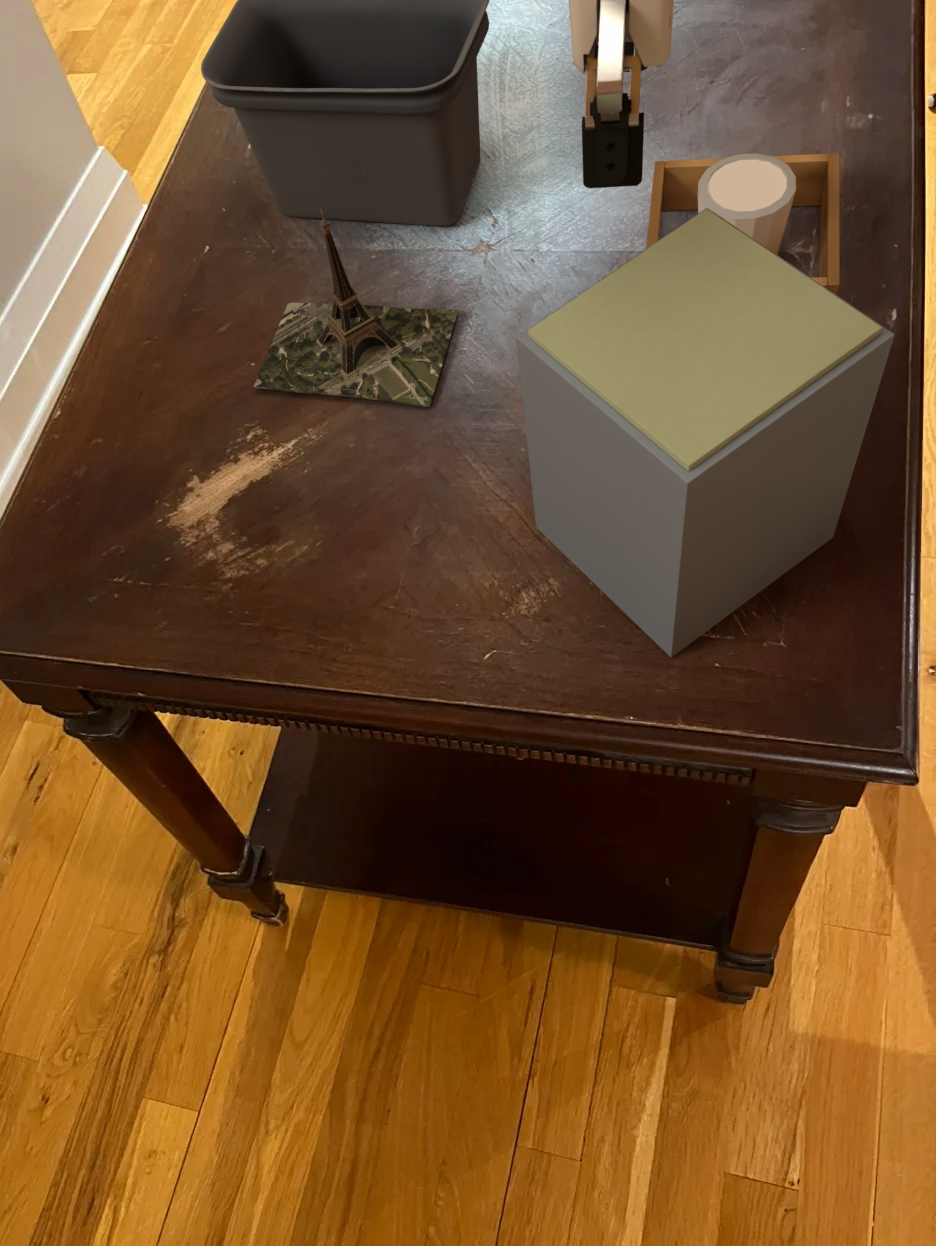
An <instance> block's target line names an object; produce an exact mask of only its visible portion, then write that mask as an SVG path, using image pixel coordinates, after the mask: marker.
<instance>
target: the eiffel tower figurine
mask: <svg viewBox="0 0 936 1246" xmlns="http://www.w3.org/2000/svg"><path fill="white" fill-rule="evenodd" d="M320 210H321V208H320ZM321 214H322V217H323V213H322V210H321ZM319 226H320V229H321V230H322V233H323V236H324V241H325V245H326V250H327V255H328V260H329V266H330V271H331V278H332V285H333V292H332V293H331V296H332V297H333V303H330V302H329V303H325V302H323V303H322V302H292V301H291V302H287V304H286V307H285V309H284V312H283V314H282V316H281V319H280V322H279V324H278V326H277V329H276V331H275V334H274V336H273V338H272V341H271V343H270V345H269V348H268V350H267V353H266V355H265V358H264V360H263V363H262V365H261V368H260V370H259V373H258V375H257V377H256V380H255V381H254V384H253V387H252V389H260V390H270V391H271V390H272V391H278V392H279V391H280V392H287V393H296V394H297V393H298V394H306V395H307V394H309V395H320V396H321V395H322V396H335V397H346V398H356V399H365V400H375V401H382V402H392V403H397V404H403V405H411V406H418V407H427V408H428V407H431V404H432V400H433V397H434V394H435V391H436V388H437V384H438V381H439V378H440V374H441V371H442V367H443V364H444V360H445V357H446V354H447V351H448V347H449V343H450V339H451V336H452V332H453V328H454V325H455V322H456V318H457V315H458V312H459V309H437V308H435V309H434V308H409V307H397V306H385V305H383V306H382V305H371V304H363V303H362V302H361V301H360V300H359V299H358V293H357V292H356V291H355V290H354V289H353V288H352V286H351V284H350V280H349V278H348V276H347V274H346V271H345V269H344V268H345V267H344V266H343V262H342V260H341V257H340V255H339V252H338V249H337V246H336V243H335V239H334V237H333V235H332V231H331V229H332V226H331V224H330V222H329V221H328V219H324V217H323V219H321V221H319Z"/></svg>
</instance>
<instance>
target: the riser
mask: <svg viewBox="0 0 936 1246" xmlns="http://www.w3.org/2000/svg"><path fill="white" fill-rule="evenodd" d="M706 209H708V208H705V209H704V210H706ZM704 210H702V211H701V212H703V211H704ZM708 210H709V211H711V210H710V209H708ZM701 212H700V213H701ZM711 212H712V213H714V212H713V211H711ZM700 213H698V212H697V214H695V215H693V216H691V218H689V219H687V220H686V221H685V222H684V223H682V224H680V225H679V226H677V227H676V228H675V229H673V230H672V231H670V232H668V233H667V234H666V235H664V236H663V237H660V240H662V239H663V238H665V237H666V236H668V235H669V234H671V233H672V232H673V231H675V230H676V229H678V228H679V227H681V226H682V225H684V224H685V223H687V222H688V221H690V220H691V219H693V218H694V217H696V216H697V215H699V214H700ZM714 214H715V215H717V214H716V213H714ZM717 216H718V217H720V216H719V215H717ZM720 218H721V219H723V218H722V217H720ZM723 220H724V221H726V220H725V219H723ZM726 222H727V223H729V222H728V221H726ZM729 224H730V225H732V224H731V223H729ZM732 226H733V225H732ZM733 227H735V226H733ZM735 228H736V227H735ZM736 229H738V228H736ZM738 230H739V229H738ZM739 231H740V232H742V231H741V230H739ZM742 233H743V234H745V233H744V232H742ZM745 235H746V236H748V235H747V234H745ZM748 237H749V238H751V237H750V236H748ZM751 239H752V240H754V239H753V238H751ZM660 240H658V241H657V242H659V241H660ZM754 241H755V242H757V241H756V240H754ZM657 242H655V243H654V244H656V243H657ZM757 243H758V244H760V243H759V242H757ZM654 244H652V245H651V246H653V245H654ZM760 245H761V246H763V245H762V244H760ZM651 246H649V247H648V248H650V247H651ZM763 247H764V248H766V247H765V246H763ZM648 248H647V249H648ZM647 249H646V248H645V249H644V250H642V251H641V252H639V253H638V254H636V255H635V256H633V257H632V258H630V259H629V260H627V261H626V262H625V263H622V265H620V266H619V267H616V269H614V270H613V271H611V272H610V273H608V274H607V275H605V276H604V277H602V278H601V279H599V280H598V281H596V282H595V283H594V284H592V285H591V286H589V287H588V288H586V289H585V290H583V291H581V292H580V293H578V294H577V295H575V296H574V297H573V298H571V299H570V300H568V301H567V302H565V303H564V304H562V305H561V306H560V307H558V308H557V309H555V310H554V311H552V312H551V313H549V314H547V316H545V317H544V318H542V319H540V320H539V321H537V322H536V323H535V324H533V325H531V326H530V327H529V328H527V329H526V330H524V331H523V332H521V333H520V334H518V335H517V336H516V337H515V340H516V341H515V342H516V343H515V344H516V351H517V359H518V361H517V362H518V369H519V379H520V388H521V398H522V399H521V400H522V408H523V417H524V427H525V435H526V446H527V454H528V465H529V475H530V483H531V492H532V502H533V511H534V520H535V521H534V522H535V528H536V529H537V531H539V532H540V533H541V534H543V536H544V537H545V538H546V539H547V540H548V541H550V543H552V544H553V545H554V546H555V547H556V549H558V550H559V551H560V552H561V553H562V554H563V555H564V556H565V557H566V558H567V559H568V560H569V561H570V562H571V563H572V564H573V565H574V566H576V568H577V569H579V570H580V571H581V573H582V574H584V575H585V576H586V577H587V578H588V579H589V580H590V581H591V582H592V583H593V584H594V585H595V586H596V587H597V588H598V589H599V590H600V591H601V592H602V593H603V594H605V596H607V598H609V600H611V601H612V602H613V603H614V604H615V605H616V606H617V607H618V608H619V609H620V610H621V611H622V612H623V614H625V615H626V616H627V617H628V618H629V619H630V620H631V621H632V622H633V623H634V624H635V625H637V626H638V628H639V629H641V631H643V633H645V634H646V635H647V636H648V637H649V638H650V639H651V640H652V641H653V642H654V643H655V644H656V645H657V646H658V647H659V648H660V649H661V650H662V651H663V652H665V654H667V656H669V657H670V658H673V657H674V656H676V655H677V654H678V653H680V652H681V651H682V650H684V649H685V648H686V647H688V646H689V645H690V644H692V643H693V642H695V641H696V640H698V638H700V637H701V636H703V635H704V634H705V633H707V632H708V631H709V630H711V629H712V628H713V627H715V626H716V625H717V624H719V623H720V622H721V621H723V620H724V619H725V618H727V617H728V616H730V615H731V614H733V612H735V611H736V610H738V609H739V608H740V607H742V606H743V605H744V604H745V603H748V601H750V600H751V599H752V598H754V597H755V596H757V595H758V594H759V593H760V592H762V591H763V590H764V589H766V588H767V587H769V586H770V585H771V584H772V583H774V582H775V581H777V579H779V578H781V577H782V576H783V575H785V574H786V573H788V571H791V569H793V568H794V567H795V566H796V565H798V564H799V563H801V562H803V561H804V560H805V559H806V558H807V557H809V556H811V554H813V553H814V552H816V551H817V550H818V549H819V548H821V547H822V546H823V545H825V544H826V543H828V542H829V541H831V540H832V539H833V538H834V536H835V533H836V529H837V527H838V524H839V520H840V516H841V513H842V510H843V506H844V503H845V501H846V500H845V499H846V496H847V493H848V489H849V487H850V483H851V480H852V476H853V473H854V470H855V467H856V463H857V460H858V456H859V454H860V451H861V447H862V444H863V441H864V438H865V435H866V431H867V427H868V423H869V421H870V418H871V413H872V411H873V409H874V408H873V407H874V404H875V401H876V398H877V395H878V391H879V389H880V388H879V387H880V384H881V381H882V379H883V374H884V371H885V367H886V364H887V361H888V358H889V355H890V351H891V348H892V344H893V341H894V338H895V333H893V332H892V331H891V330H889V329H887V328H886V327H884V326H883V325H881V324H880V323H879V322H877V321H875V320H874V319H873V318H871V317H869V316H868V315H867V314H865V313H863V312H862V311H861V310H859V309H858V308H856V307H855V306H853V305H852V304H851V303H849V302H847V301H846V300H845V299H843V298H842V297H840V296H839V295H838V294H837V295H836V294H834V293H833V292H831V291H830V290H828V289H827V288H825V287H824V286H822V285H821V284H819V283H818V282H816V281H815V280H813V279H812V278H810V277H811V276H809V275H808V274H806V273H805V272H803V271H801V270H800V269H798V268H797V267H796V266H795V265H793V264H791V263H790V262H788V261H787V260H786V259H784V258H782V257H781V256H780V255H779V254H778V255H776V254H775V253H773V252H772V251H770V250H769V249H767V248H766V249H767V250H769V251H770V252H772V253H773V254H774V255H776V256H777V257H779V258H780V259H782V260H783V261H785V262H786V263H788V264H789V265H791V266H792V267H794V268H795V269H797V270H798V271H800V272H801V273H803V274H804V275H805V276H807V277H808V278H810V279H811V280H813V281H814V282H816V283H817V284H819V285H820V286H822V287H823V288H825V289H826V290H828V291H829V292H831V293H832V294H834V295H835V296H836V297H838V298H839V299H841V300H842V301H844V302H845V303H847V304H848V305H850V306H851V307H853V308H854V309H856V310H857V311H859V312H860V313H862V314H863V315H865V316H866V317H868V318H869V319H870V320H872V321H873V322H875V323H876V324H878V325H879V326H881V327H882V329H881V333H880V335H878V336H877V337H875V338H874V339H873V340H871V341H870V342H868V343H867V344H866V345H864V346H863V347H862V348H860V349H859V350H857V351H856V352H855V353H853V354H852V355H850V356H849V357H848V358H846V359H845V360H843V361H842V362H841V363H839V364H838V365H836V366H835V367H834V368H832V369H831V370H829V371H828V372H827V373H825V374H824V375H822V376H821V377H820V378H818V379H817V380H816V381H814V382H813V383H811V384H810V385H809V386H807V387H806V388H804V389H803V390H802V391H800V392H799V393H797V394H796V395H795V396H793V397H792V398H790V399H789V400H788V401H786V402H785V403H783V404H782V405H781V406H779V407H778V408H777V409H775V410H774V411H772V412H771V413H770V414H768V415H767V416H765V417H764V418H763V419H761V420H760V421H758V422H757V423H756V424H754V425H753V426H751V427H750V428H749V429H747V430H746V431H744V432H743V433H742V434H740V435H739V436H737V437H736V438H735V439H733V440H732V441H731V442H729V443H728V444H726V445H725V446H724V447H722V448H721V449H719V450H718V451H717V452H715V453H714V454H712V455H711V456H710V457H708V458H707V459H705V460H704V461H703V462H701V463H700V464H698V465H697V466H696V467H694V468H693V469H692V470H690V471H687V470H686V469H685V468H684V467H682V466H681V465H680V464H679V463H678V462H677V461H675V460H674V459H673V458H672V457H671V456H669V455H668V454H667V453H666V452H665V451H664V450H662V449H661V448H660V447H659V446H658V445H656V444H655V443H654V442H653V441H652V440H650V439H649V438H648V437H647V436H646V435H645V434H643V433H642V432H641V431H640V430H639V429H637V428H636V427H635V426H634V425H633V424H631V423H630V422H629V421H628V420H627V419H626V418H624V417H623V416H622V415H621V414H620V413H618V412H617V411H616V410H615V409H614V408H613V407H611V406H610V405H609V404H608V403H607V402H605V401H604V400H603V399H602V398H601V397H599V396H598V395H597V394H596V393H595V392H594V391H592V390H591V389H590V388H589V387H588V386H586V385H585V384H584V383H583V382H582V381H581V380H579V379H578V378H577V377H576V376H575V375H573V374H572V373H571V372H570V371H569V370H567V369H566V368H565V367H564V366H563V365H562V364H560V363H559V362H558V361H557V360H556V359H554V358H553V357H552V356H551V355H550V354H548V353H547V352H546V351H545V350H544V349H543V348H541V347H540V346H539V345H538V344H537V343H535V342H534V341H533V340H532V339H531V338H530V337H529V336H528V330H529V329H531V328H532V327H534V326H535V325H537V324H538V323H540V322H541V321H542V320H544V319H545V318H547V317H548V316H550V315H551V314H553V313H554V312H556V311H557V310H559V309H560V308H562V307H563V306H565V305H566V304H568V303H569V302H570V301H572V300H573V299H575V298H576V297H578V296H579V295H581V294H582V293H584V292H585V291H587V290H588V289H590V288H591V287H593V286H594V285H595V284H597V283H598V282H600V281H601V280H603V279H604V278H606V277H607V276H609V275H610V274H612V273H613V272H615V271H616V270H618V269H619V268H621V267H622V266H623V265H625V264H626V263H628V262H629V261H631V260H632V259H634V258H635V257H637V256H638V255H640V254H641V253H643V252H644V251H646V250H647Z"/></svg>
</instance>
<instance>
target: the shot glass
mask: <svg viewBox="0 0 936 1246" xmlns="http://www.w3.org/2000/svg"><path fill="white" fill-rule="evenodd" d="M771 156H772V155H767V154H762V153H757V152H755V153H754V152H753V153H740V154H739V153H738V154H734V155H731V156H729V157H724V158H725V159H722V160H720V161H718V162H717V163H715V164H714V165H712V166H711V167H709V168H708V169H707V170H706V171H705V172H704V174H703V175H702V177H701V179H700V180H699V182H698V210H697V214H698V213H700V212H701V211H702V210H704V209H705V208H708V209H710V210H711V211H713V212H714V213H716V214H717V215H719V216H720V217H722V218H723V219H725V220H726V221H728V222H729V223H731V224H732V225H733V226H735V227H736V228H738V229H739V230H741V231H742V232H744V233H745V234H747V235H748V236H750V237H751V238H753V239H754V240H756V241H757V242H759V243H760V244H762V245H763V246H765V247H766V248H767V249H769V250H770V251H772V252H773V253H775V254H776V255H778V256H779V251H780V248H781V245H782V241H783V237H784V234H785V230H786V227H787V223H788V219H789V215H790V212H791V208H792V207H793V206H792V202H793V198H794V195H795V191H796V176H795V175H794V173H793V172H792V170H791V169H790V167H789V166H788V165H787V164H785V163H783V162H782V161H780V160H778V159H777V158H775V157H771Z"/></svg>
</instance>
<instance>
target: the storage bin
mask: <svg viewBox="0 0 936 1246" xmlns="http://www.w3.org/2000/svg"><path fill="white" fill-rule="evenodd" d="M489 3H490V0H237V1H236V2H235V3H234V5H233V7H232V8H231V10H230V12H229V14H228V16H227V18H226V19H225V20H224V22H223V25H221V28H220V29H219V31H218V33H217V34H216V36H215V37H214V40H213V41H212V43H211V44H210V47H209V48H208V50H207V51H206V54H205V55H204V57H203V59H202V60H201V61H202V62H201V64H200V72H201V75H202V78H203V79H204V80H205V82H206V83H207V84H209V85H210V86H211V87H210V88H211V92H212V95H213V97H214V99H215V100H216V101H217V103H219V104H220V105H223V106H225V107H227V108H233V110H234V112H235V114H236V116H237V118H238V121H239V123H240V125H241V127H242V130H243V133H244V134H245V137H246V139H247V141H248V143H249V145H250V148H251V150H252V153H253V155H254V157H255V159H256V161H257V164H258V166H259V168H260V171H261V173H262V175H263V177H264V180H265V182H266V185H267V187H268V189H269V191H270V194H271V196H272V198H273V201H274V203H275V206H276V207H277V210H278V212H279V213H280V214H281V215H282V216H285V217H289V218H301V219H302V218H304V219H319V220H320V219H321V220H322V219H323V217H324V219H326V220H338V221H354V222H355V221H356V222H371V223H383V224H384V223H385V224H387V223H388V224H402V225H403V224H405V225H421V226H434V227H435V226H436V227H449V226H452V225H454V224H455V223H456V222H457V221H458V219H459V218H460V215H461V212H462V210H463V207H464V204H465V202H466V200H467V197H468V195H469V192H470V189H471V188H472V184H473V182H474V179H475V177H476V175H477V172H478V170H479V168H480V163H481V158H482V157H481V156H482V155H481V136H480V135H481V133H480V113H479V112H480V111H479V110H480V109H479V108H480V107H479V81H478V80H479V79H478V56H479V53H480V50H481V48H482V46H483V44H484V42H485V39H486V37H487V34H488V33H489V29H490V19H489V15H488V12H487V8H488V6H489ZM320 208H321V210H322V213H323V217H322V214H321V210H320Z"/></svg>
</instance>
